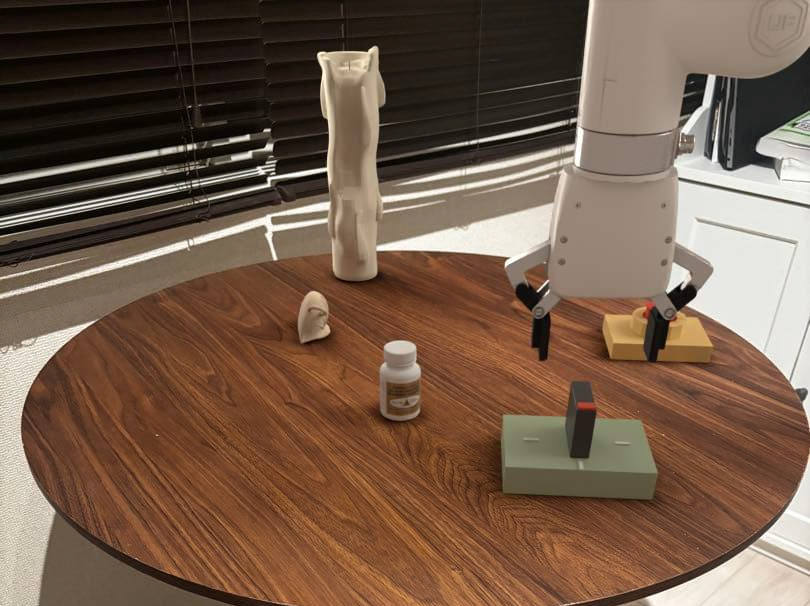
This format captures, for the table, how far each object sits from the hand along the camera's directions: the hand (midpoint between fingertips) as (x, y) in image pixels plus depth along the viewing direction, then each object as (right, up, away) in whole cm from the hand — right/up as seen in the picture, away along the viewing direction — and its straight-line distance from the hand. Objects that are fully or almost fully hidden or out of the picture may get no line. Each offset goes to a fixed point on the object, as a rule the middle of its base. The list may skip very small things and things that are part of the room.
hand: (595, 355), depth 73 cm
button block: (+15, +8, +30) cm, 34 cm away
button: (+15, +11, +28) cm, 33 cm away
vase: (-25, +23, +50) cm, 60 cm away
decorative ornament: (-29, +10, +33) cm, 45 cm away
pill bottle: (-18, -3, +16) cm, 24 cm away
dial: (-1, -7, +5) cm, 9 cm away
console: (-1, -10, +7) cm, 12 cm away
